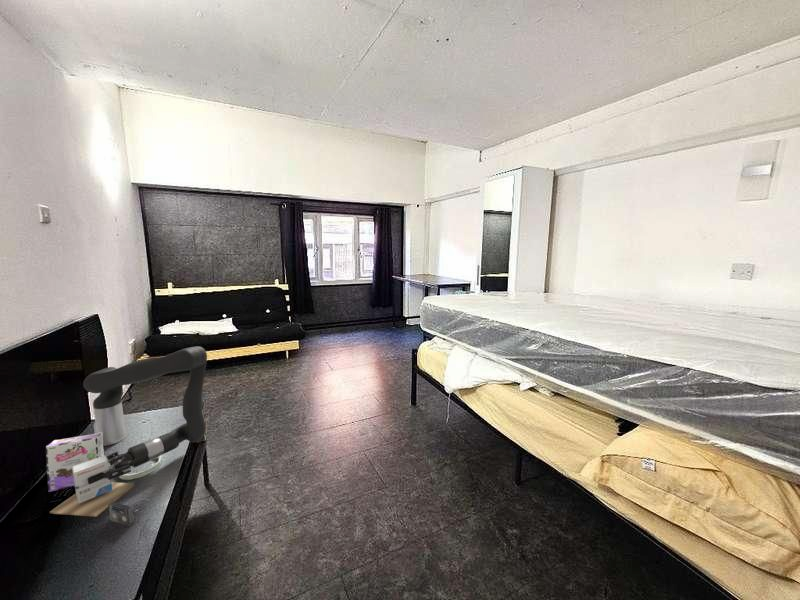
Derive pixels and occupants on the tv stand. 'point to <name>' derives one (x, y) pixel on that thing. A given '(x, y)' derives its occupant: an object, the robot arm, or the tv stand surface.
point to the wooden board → (92, 502)
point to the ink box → (87, 470)
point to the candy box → (70, 458)
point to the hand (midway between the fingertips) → (85, 477)
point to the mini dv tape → (121, 513)
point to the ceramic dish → (143, 473)
